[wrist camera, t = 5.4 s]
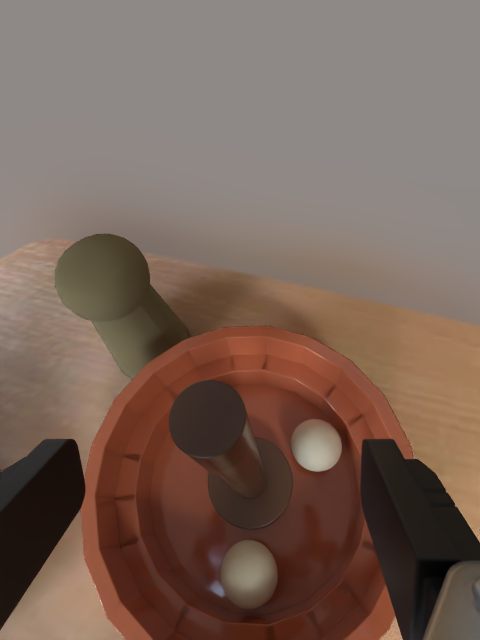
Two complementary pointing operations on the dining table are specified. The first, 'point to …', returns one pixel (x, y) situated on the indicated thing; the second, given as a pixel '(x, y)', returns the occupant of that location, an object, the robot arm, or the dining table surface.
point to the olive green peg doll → (118, 299)
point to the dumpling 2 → (316, 445)
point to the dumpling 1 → (249, 574)
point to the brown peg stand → (231, 455)
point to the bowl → (204, 521)
